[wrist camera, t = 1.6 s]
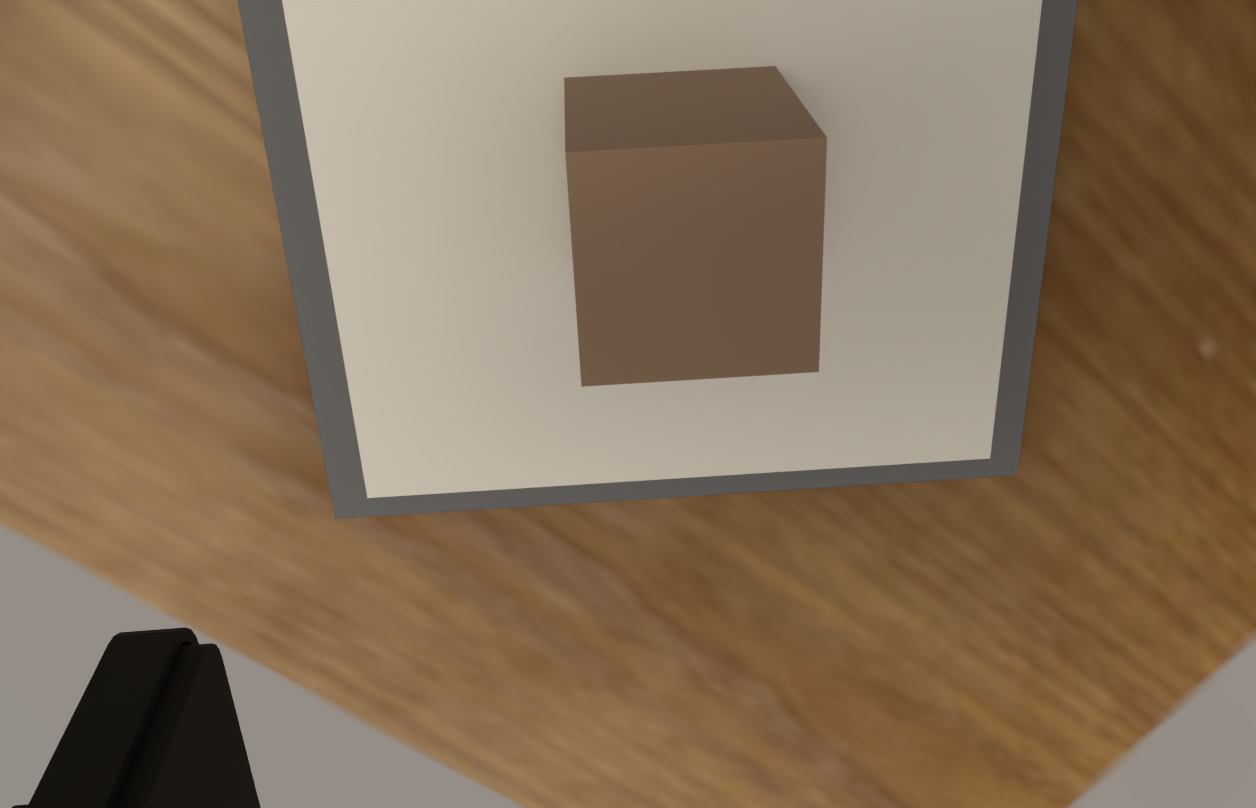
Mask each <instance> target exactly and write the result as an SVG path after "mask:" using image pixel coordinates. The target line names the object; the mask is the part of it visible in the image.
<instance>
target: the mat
mask: <svg viewBox="0 0 1256 808" xmlns="http://www.w3.org/2000/svg"><path fill="white" fill-rule="evenodd" d="M1077 1H1078V0H1042V7H1041V16H1040V25H1039V34H1038V42H1037V51H1036V60H1035V69H1034V78H1033V86H1032V95H1031V104H1030V113H1029V121H1028V130H1027V139H1026V148H1025V157H1024V165H1023V174H1022V183H1021V192H1020V200H1019V209H1018V218H1017V227H1016V236H1015V244H1014V253H1013V262H1012V271H1011V279H1010V288H1009V297H1008V306H1007V315H1006V323H1005V332H1004V341H1003V350H1002V359H1001V367H1000V376H999V385H998V394H997V402H996V411H995V420H994V429H993V438H992V446H991V455H990V459H975V460H960V461H944V462H928V463H912V464H897V465H881V466H865V467H849V468H834V469H818V470H802V471H786V472H771V473H755V474H739V475H724V476H708V477H692V478H676V479H661V480H645V481H629V482H613V483H598V484H582V485H566V486H550V487H535V488H519V489H503V490H487V491H472V492H456V493H440V494H424V495H409V496H393V497H377V498H367V493H366V487H365V481H364V476H363V470H362V464H361V458H360V452H359V446H358V441H357V435H356V429H355V423H354V417H353V411H352V406H351V400H350V394H349V388H348V382H347V376H346V371H345V365H344V359H343V353H342V347H341V341H340V336H339V330H338V324H337V318H336V312H335V307H334V301H333V295H332V289H331V283H330V277H329V272H328V266H327V260H326V254H325V248H324V242H323V237H322V231H321V225H320V219H319V213H318V207H317V202H316V196H315V190H314V184H313V178H312V172H311V167H310V161H309V155H308V149H307V143H306V137H305V132H304V126H303V120H302V114H301V108H300V102H299V97H298V91H297V85H296V79H295V73H294V67H293V62H292V56H291V50H290V44H289V38H288V32H287V27H286V21H285V15H284V9H283V3H282V0H238V4H239V10H240V15H241V20H242V26H243V31H244V36H245V42H246V47H247V52H248V57H249V63H250V68H251V73H252V79H253V84H254V89H255V95H256V100H257V105H258V111H259V116H260V121H261V127H262V132H263V137H264V143H265V148H266V153H267V158H268V164H269V169H270V174H271V180H272V185H273V190H274V196H275V201H276V206H277V212H278V217H279V222H280V228H281V233H282V238H283V244H284V249H285V254H286V259H287V265H288V270H289V275H290V281H291V286H292V291H293V297H294V302H295V307H296V313H297V318H298V323H299V329H300V334H301V339H302V345H303V350H304V355H305V360H306V366H307V371H308V376H309V382H310V387H311V392H312V398H313V403H314V408H315V414H316V419H317V424H318V430H319V435H320V440H321V446H322V451H323V456H324V462H325V467H326V472H327V477H328V483H329V488H330V493H331V499H332V504H333V509H334V515H335V519H340V518H356V517H372V516H387V515H403V514H418V513H434V512H450V511H465V510H481V509H497V508H512V507H528V506H544V505H559V504H575V503H591V502H606V501H622V500H638V499H653V498H669V497H685V496H700V495H716V494H731V493H747V492H763V491H778V490H794V489H810V488H825V487H841V486H857V485H872V484H888V483H904V482H919V481H935V480H951V479H966V478H982V477H997V476H1013V475H1017V473H1018V465H1019V458H1020V450H1021V442H1022V434H1023V426H1024V418H1025V410H1026V403H1027V395H1028V387H1029V379H1030V371H1031V363H1032V355H1033V347H1034V340H1035V332H1036V324H1037V316H1038V308H1039V300H1040V292H1041V285H1042V277H1043V269H1044V261H1045V253H1046V245H1047V237H1048V229H1049V222H1050V214H1051V206H1052V198H1053V190H1054V182H1055V174H1056V167H1057V159H1058V151H1059V143H1060V135H1061V127H1062V119H1063V112H1064V104H1065V96H1066V88H1067V80H1068V72H1069V64H1070V56H1071V49H1072V41H1073V33H1074V25H1075V17H1076V9H1077Z"/></svg>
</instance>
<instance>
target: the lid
mask: <svg viewBox="0 0 1256 808" xmlns="http://www.w3.org/2000/svg"><path fill="white" fill-rule="evenodd" d="M282 3H283V9H284V15H285V21H286V27H287V32H288V38H289V44H290V50H291V56H292V62H293V67H294V73H295V79H296V85H297V91H298V97H299V102H300V108H301V114H302V120H303V126H304V132H305V137H306V143H307V149H308V155H309V161H310V167H311V172H312V178H313V184H314V190H315V196H316V202H317V207H318V213H319V219H320V225H321V231H322V237H323V242H324V248H325V254H326V260H327V266H328V272H329V277H330V283H331V289H332V295H333V301H334V307H335V312H336V318H337V324H338V330H339V336H340V341H341V347H342V353H343V359H344V365H345V371H346V376H347V382H348V388H349V394H350V400H351V406H352V411H353V417H354V423H355V429H356V435H357V441H358V446H359V452H360V458H361V464H362V470H363V476H364V481H365V487H366V493H367V498H377V497H393V496H409V495H424V494H440V493H456V492H472V491H487V490H503V489H519V488H535V487H550V486H566V485H582V484H598V483H613V482H629V481H645V480H661V479H676V478H692V477H708V476H724V475H739V474H755V473H771V472H786V471H802V470H818V469H834V468H849V467H865V466H881V465H897V464H912V463H928V462H944V461H960V460H975V459H990V455H991V446H992V438H993V429H994V420H995V411H996V402H997V394H998V385H999V376H1000V367H1001V359H1002V350H1003V341H1004V332H1005V323H1006V315H1007V306H1008V297H1009V288H1010V279H1011V271H1012V262H1013V253H1014V244H1015V236H1016V227H1017V218H1018V209H1019V200H1020V192H1021V183H1022V174H1023V165H1024V157H1025V148H1026V139H1027V130H1028V121H1029V113H1030V104H1031V95H1032V86H1033V78H1034V69H1035V60H1036V51H1037V42H1038V34H1039V25H1040V16H1041V7H1042V0H282Z"/></svg>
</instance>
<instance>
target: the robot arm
mask: <svg viewBox="0 0 1256 808" xmlns="http://www.w3.org/2000/svg"><path fill="white" fill-rule="evenodd" d="M12 808H260V804H259V800H258V796H257V792H256V789H255V785H254V781H253V777H252V773H251V769H250V765H249V761H248V757H247V753H246V749H245V745H244V741H243V737H242V734H241V730H240V726H239V722H238V718H237V714H236V710H235V706H234V702H233V698H232V694H231V690H230V686H229V682H228V679H227V675H226V671H225V667H224V663H223V659H222V656H221V653H220V650H219V648H218V647H217V645H215V644H199V643H198V641H197V638H196V636H195V634H194V633H193V631H192V630H191V629H188V628H174V629H161V630H149V631H134V632H121V633H119V634H117V635H115V636H114V637H113V639H112V640H111V641H110V643H109V644H108V646H107V648H106V650H105V652H104V654H103V656H102V658H101V660H100V662H99V664H98V666H97V668H96V670H95V672H94V674H93V676H92V678H91V680H90V682H89V684H88V686H87V688H86V690H85V692H84V694H83V696H82V698H81V700H80V702H79V704H78V706H77V708H76V710H75V712H74V714H73V716H72V718H71V720H70V722H69V724H68V726H67V728H66V730H65V732H64V735H63V736H62V738H61V740H60V742H59V744H58V746H57V748H56V750H55V752H54V754H53V756H52V758H51V760H50V763H49V764H48V767H47V768H46V771H45V773H44V775H43V777H42V779H41V781H40V783H39V785H38V787H37V789H36V791H35V793H34V795H33V797H32V799H31V801H30V803H29V805H18V806H13V807H12Z"/></svg>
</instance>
